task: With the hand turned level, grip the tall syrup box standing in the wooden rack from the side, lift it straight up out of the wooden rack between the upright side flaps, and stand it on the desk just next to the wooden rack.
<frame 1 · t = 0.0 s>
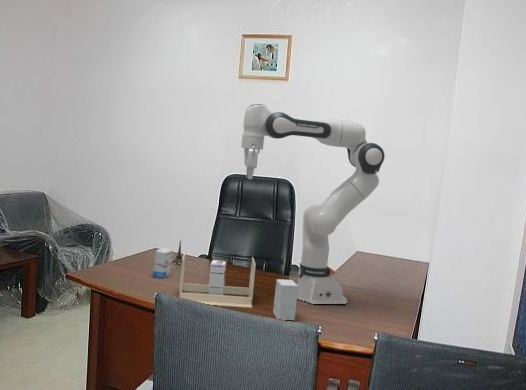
hand: (249, 178, 191), 48 cm above the table, tool pointing down, fingers open, 8 cm apart
small box: (283, 317, 172), on the table
syrup box: (215, 298, 186), resting in wooden rack
ink box: (162, 276, 210), on the table
wooden rack: (215, 297, 186), on the table
eiffel tower figurine: (177, 265, 233), on the table
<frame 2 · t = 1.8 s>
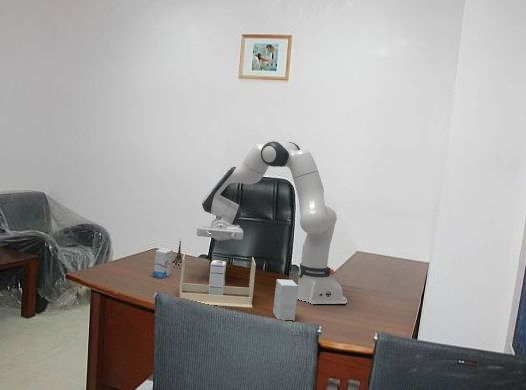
hand: (220, 236, 199), 22 cm above the table, tool horizontal, fingers open, 8 cm apart
nothing on the table moved.
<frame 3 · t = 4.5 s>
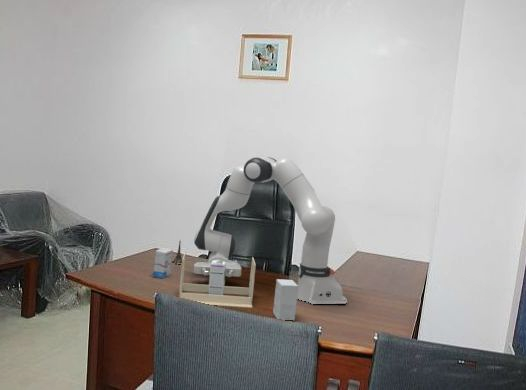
hand: (217, 274, 193), 7 cm above the table, tool horizontal, fingers open, 8 cm apart
nothing on the table moved.
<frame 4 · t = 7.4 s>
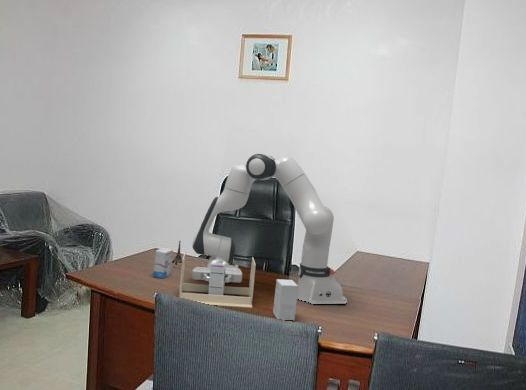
hand: (217, 280, 184), 8 cm above the table, tool horizontal, fingers closed on syrup box, 6 cm apart
syrup box: (215, 298, 186), resting in wooden rack, touching gripper
everything else where it was.
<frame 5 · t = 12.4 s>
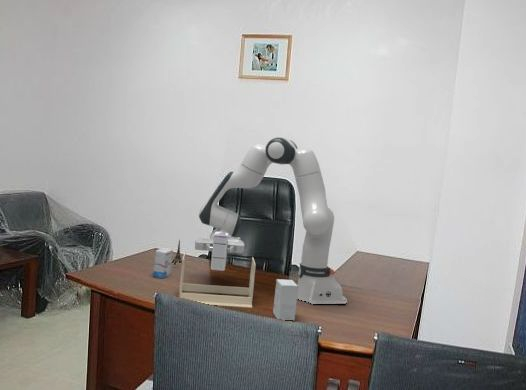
hand: (219, 250, 186), 19 cm above the table, tool horizontal, fingers closed on syrup box, 6 cm apart
syrup box: (217, 269, 188), point 11 cm above the table, touching gripper
everything else where it was.
when the fingers open (9 cm above the table, at t = 17.2 s): syrup box stays where it is, on the table.
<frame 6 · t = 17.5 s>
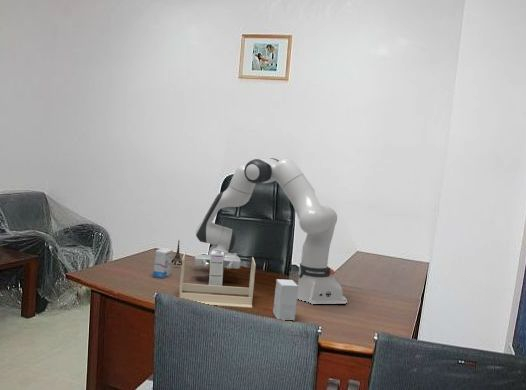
hand: (217, 266, 201), 9 cm above the table, tool horizontal, fingers open, 8 cm apart
syrup box: (215, 285, 203), on the table
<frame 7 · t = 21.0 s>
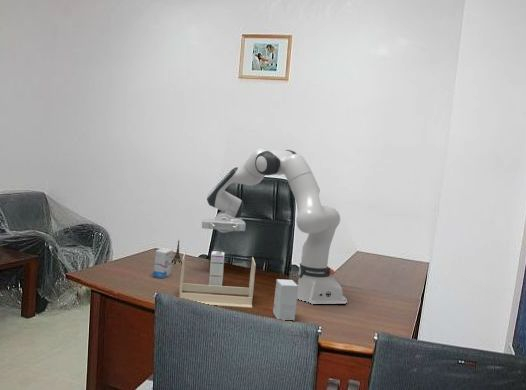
hand: (224, 227, 213), 23 cm above the table, tool horizontal, fingers open, 8 cm apart
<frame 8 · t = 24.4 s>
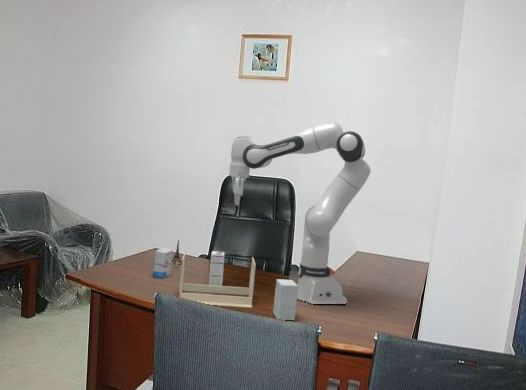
hand: (236, 203, 210), 35 cm above the table, tool pointing down, fingers open, 8 cm apart
at the end: syrup box inside the target area (0.5 cm from its centre), on the table; syrup box tilted 0°; the gripper is holding nothing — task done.
